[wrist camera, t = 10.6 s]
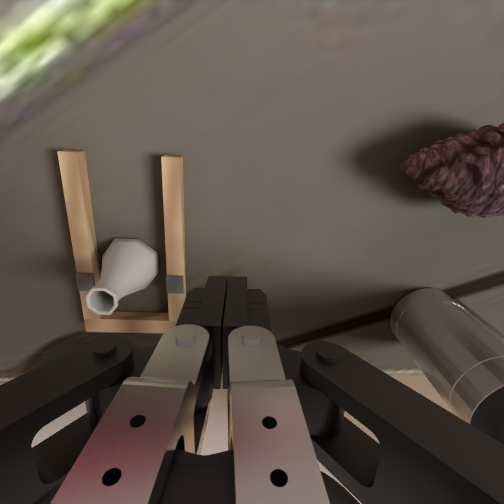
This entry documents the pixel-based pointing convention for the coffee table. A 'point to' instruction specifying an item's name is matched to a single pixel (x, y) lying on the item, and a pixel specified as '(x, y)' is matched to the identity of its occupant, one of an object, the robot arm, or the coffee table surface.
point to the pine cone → (463, 171)
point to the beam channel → (87, 251)
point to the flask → (122, 274)
